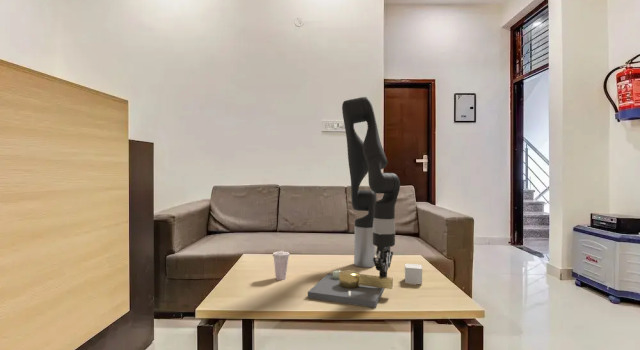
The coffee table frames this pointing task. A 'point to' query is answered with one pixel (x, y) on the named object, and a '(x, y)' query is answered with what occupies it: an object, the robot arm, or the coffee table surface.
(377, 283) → the tan handled round piece
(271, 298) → the coffee table surface
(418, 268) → the beige cube
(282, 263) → the smoothie
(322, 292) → the grey base plate
